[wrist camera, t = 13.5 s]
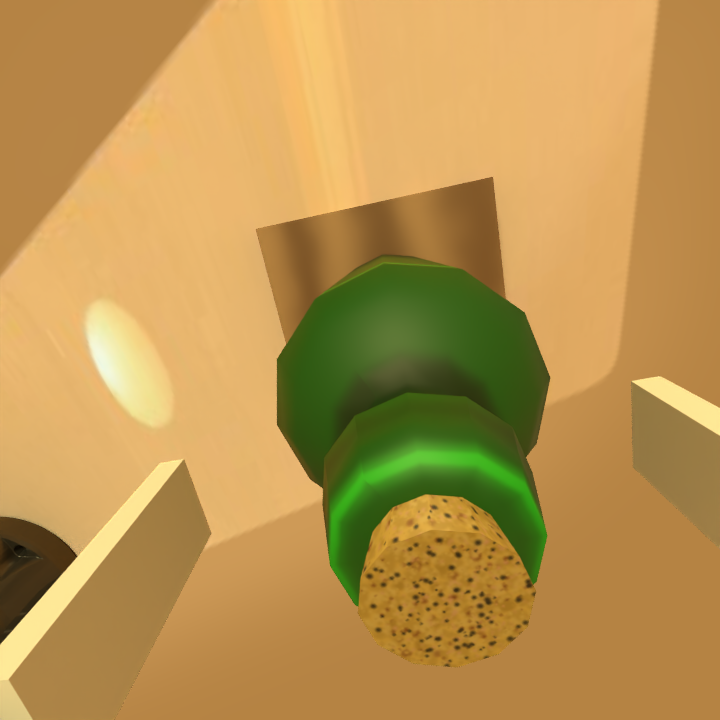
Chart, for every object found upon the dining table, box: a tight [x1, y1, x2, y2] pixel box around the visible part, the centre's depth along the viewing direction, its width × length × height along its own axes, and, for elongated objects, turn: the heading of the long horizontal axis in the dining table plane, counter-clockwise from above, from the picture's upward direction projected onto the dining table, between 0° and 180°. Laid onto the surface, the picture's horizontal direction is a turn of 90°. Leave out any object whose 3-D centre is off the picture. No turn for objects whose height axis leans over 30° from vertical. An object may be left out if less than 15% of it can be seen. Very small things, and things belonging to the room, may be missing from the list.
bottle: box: [277, 254, 550, 667], centre depth 21 cm, size 11×11×28 cm
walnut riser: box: [256, 177, 506, 344], centre depth 36 cm, size 18×16×3 cm
